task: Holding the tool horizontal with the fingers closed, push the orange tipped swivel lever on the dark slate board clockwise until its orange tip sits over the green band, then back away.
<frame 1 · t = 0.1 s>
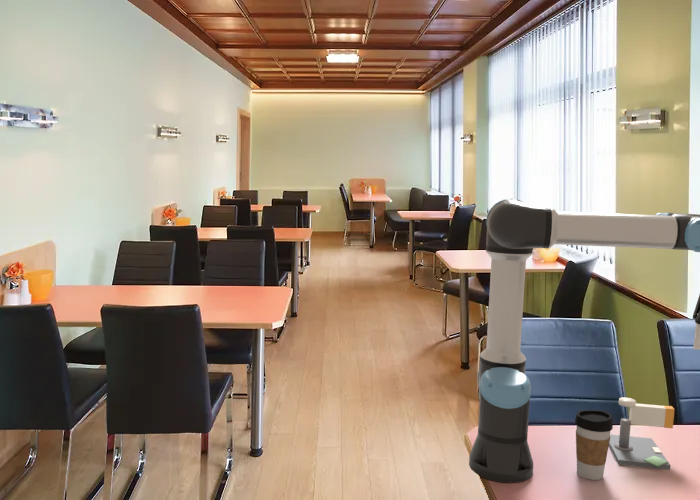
tuner board: (635, 453, 160), on the table
coffee cup: (589, 474, 148), on the table
orange tipped swivel lever: (644, 424, 159), point 8 cm above the table, hinge at 0.0°
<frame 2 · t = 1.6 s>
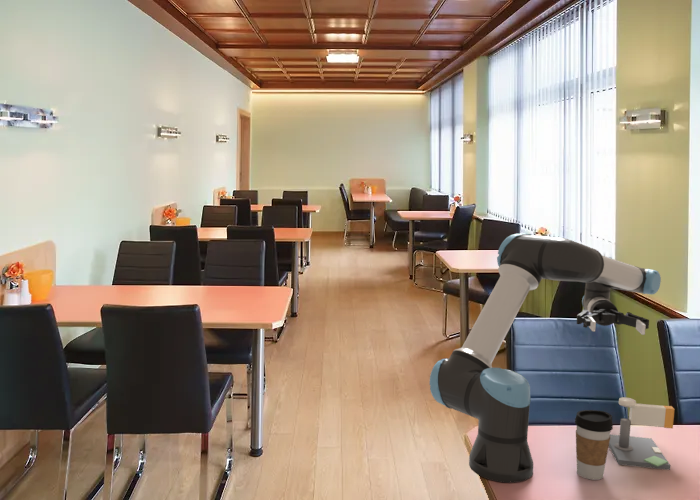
hand: (618, 328, 168), 30 cm above the table, tool horizontal, fingers open, 12 cm apart
nothing on the table moved.
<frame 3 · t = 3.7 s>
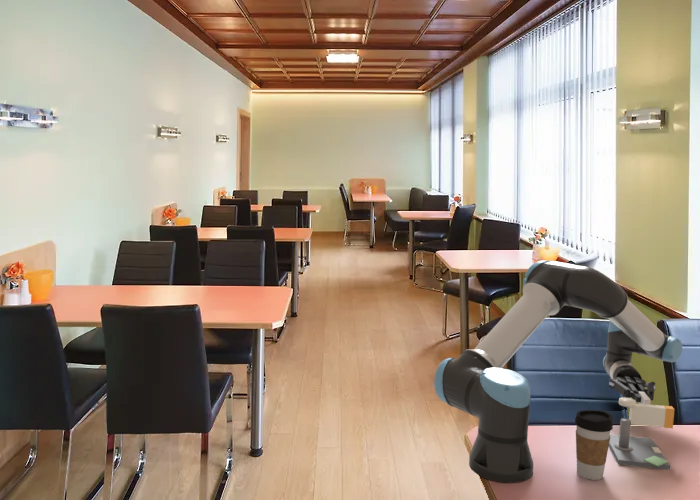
hand: (647, 404, 165), 11 cm above the table, tool horizontal, fingers closed
nothing on the table moved.
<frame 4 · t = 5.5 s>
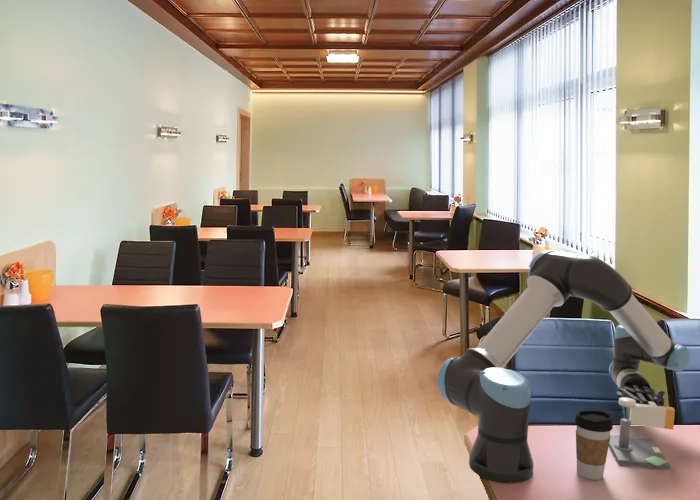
hand: (658, 415, 158), 10 cm above the table, tool horizontal, fingers closed
orange tipped swivel lever: (644, 425, 158), point 8 cm above the table, hinge at -3.7°, touching gripper
everything else where it was.
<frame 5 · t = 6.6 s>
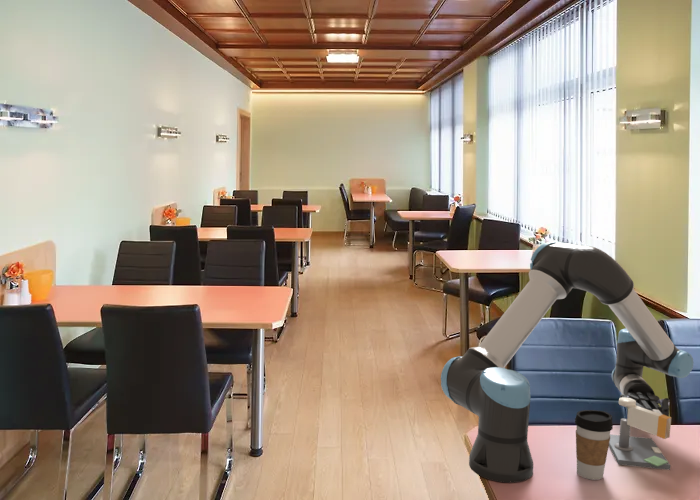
hand: (663, 424, 153), 10 cm above the table, tool horizontal, fingers closed
orange tipped swivel lever: (641, 429, 156), point 8 cm above the table, hinge at -45.5°, touching gripper
everything else where it was.
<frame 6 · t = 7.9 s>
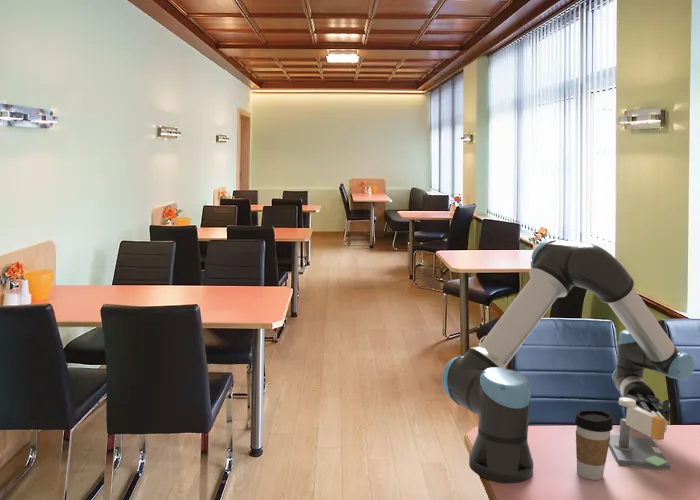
hand: (662, 426, 151), 10 cm above the table, tool horizontal, fingers closed
orange tipped swivel lever: (639, 430, 155), point 8 cm above the table, hinge at -58.3°
everything else where it was.
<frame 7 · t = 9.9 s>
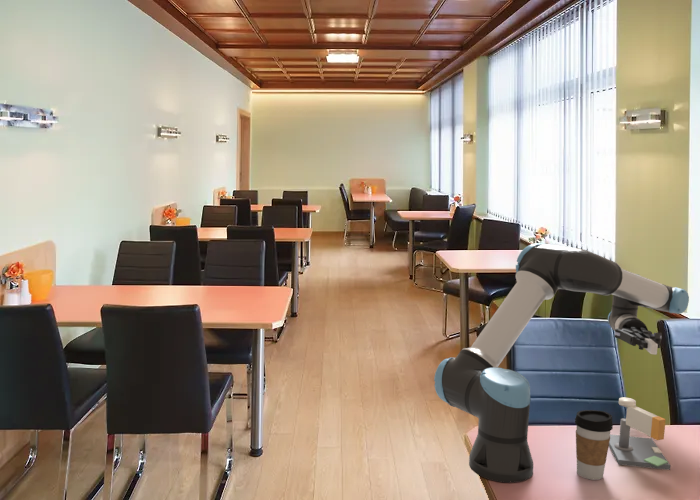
hand: (654, 349, 162), 26 cm above the table, tool horizontal, fingers closed
nothing on the table moved.
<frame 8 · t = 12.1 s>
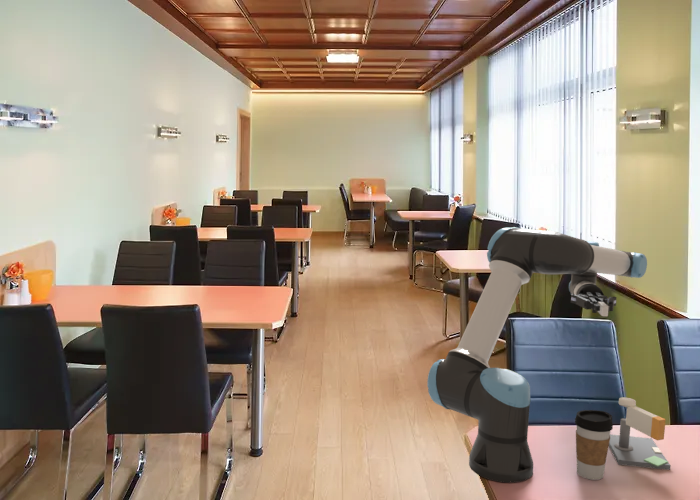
hand: (605, 311, 166), 35 cm above the table, tool horizontal, fingers closed
nothing on the table moved.
at the end: orange tipped swivel lever at -58° (first picture: +0°) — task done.
